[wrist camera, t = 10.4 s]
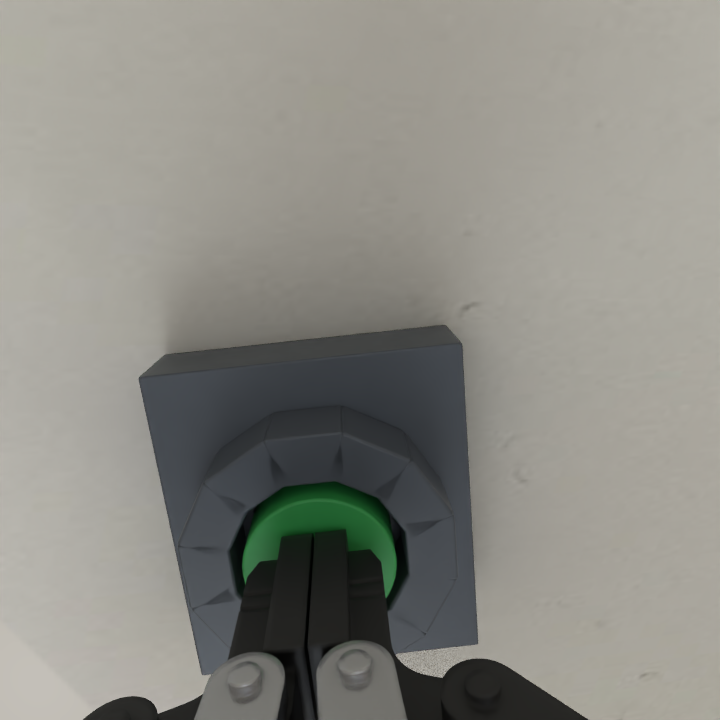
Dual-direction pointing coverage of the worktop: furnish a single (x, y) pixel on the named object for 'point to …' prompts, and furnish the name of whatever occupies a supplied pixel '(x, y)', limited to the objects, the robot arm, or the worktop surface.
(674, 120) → the worktop surface
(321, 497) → the button
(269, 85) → the worktop surface
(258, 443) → the button block
